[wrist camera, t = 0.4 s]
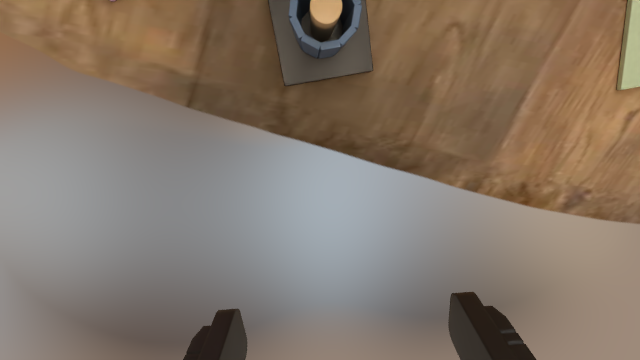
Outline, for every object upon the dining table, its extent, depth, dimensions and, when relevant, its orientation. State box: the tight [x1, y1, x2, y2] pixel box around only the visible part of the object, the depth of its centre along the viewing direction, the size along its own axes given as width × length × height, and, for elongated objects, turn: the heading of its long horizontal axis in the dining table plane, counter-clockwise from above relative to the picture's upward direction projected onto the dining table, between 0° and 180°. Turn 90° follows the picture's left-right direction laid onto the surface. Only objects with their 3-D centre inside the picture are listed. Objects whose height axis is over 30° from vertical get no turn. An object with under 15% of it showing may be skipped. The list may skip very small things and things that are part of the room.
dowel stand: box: [268, 0, 373, 86], centre depth 28 cm, size 10×10×12 cm
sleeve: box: [289, 0, 362, 59], centre depth 28 cm, size 6×6×9 cm
